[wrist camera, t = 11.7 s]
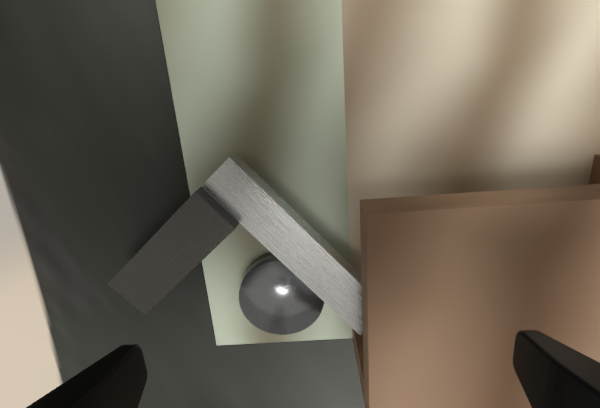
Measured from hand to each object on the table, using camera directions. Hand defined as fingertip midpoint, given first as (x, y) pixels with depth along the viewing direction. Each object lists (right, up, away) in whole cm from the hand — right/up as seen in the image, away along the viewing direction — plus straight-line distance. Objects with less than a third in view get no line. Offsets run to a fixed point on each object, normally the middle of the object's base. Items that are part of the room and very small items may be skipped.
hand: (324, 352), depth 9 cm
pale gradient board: (+4, +7, +10) cm, 13 cm away
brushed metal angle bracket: (0, +2, +9) cm, 9 cm away
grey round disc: (-2, -1, +12) cm, 12 cm away
